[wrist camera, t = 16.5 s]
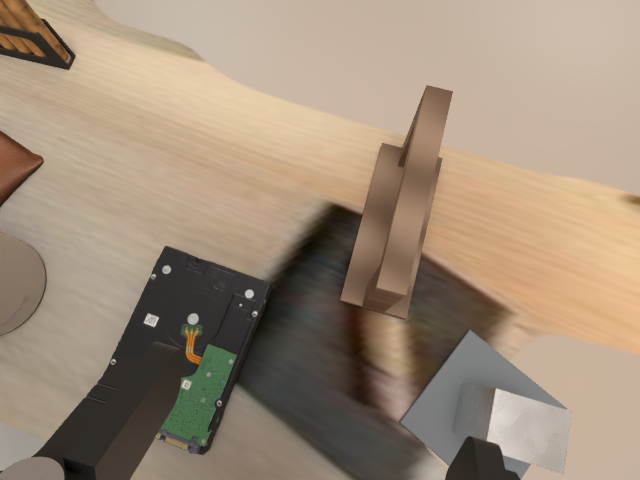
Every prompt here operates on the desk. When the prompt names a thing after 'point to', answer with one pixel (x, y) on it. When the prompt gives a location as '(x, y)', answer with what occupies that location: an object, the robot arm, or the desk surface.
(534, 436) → the pale grey upright block
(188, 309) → the disk drive
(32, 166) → the sunglasses case
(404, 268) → the stand
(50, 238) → the desk surface
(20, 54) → the ammunition clip
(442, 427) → the slate mat
